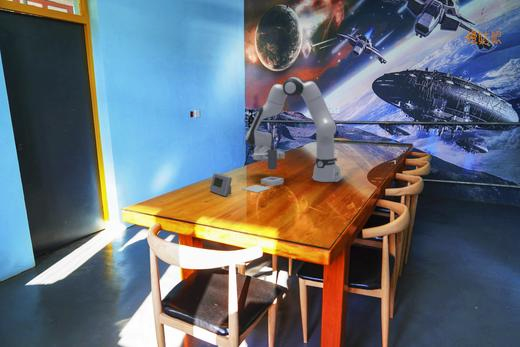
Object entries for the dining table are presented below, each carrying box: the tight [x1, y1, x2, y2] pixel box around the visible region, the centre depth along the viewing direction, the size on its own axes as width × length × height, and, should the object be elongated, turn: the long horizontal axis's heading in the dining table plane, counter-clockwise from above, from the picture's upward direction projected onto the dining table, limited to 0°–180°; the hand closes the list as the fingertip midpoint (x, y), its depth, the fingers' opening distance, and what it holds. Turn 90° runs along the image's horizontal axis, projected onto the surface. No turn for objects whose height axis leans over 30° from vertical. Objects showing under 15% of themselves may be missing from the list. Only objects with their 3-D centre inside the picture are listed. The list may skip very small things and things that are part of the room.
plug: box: [267, 144, 278, 171], centre depth 216 cm, size 4×4×15 cm
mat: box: [241, 184, 271, 194], centre depth 207 cm, size 12×12×1 cm
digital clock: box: [209, 172, 232, 197], centre depth 198 cm, size 16×9×11 cm, turn 29°
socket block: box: [260, 175, 285, 187], centre depth 220 cm, size 10×10×3 cm
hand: (272, 157), depth 215 cm, fingers closed on plug, 5 cm apart
